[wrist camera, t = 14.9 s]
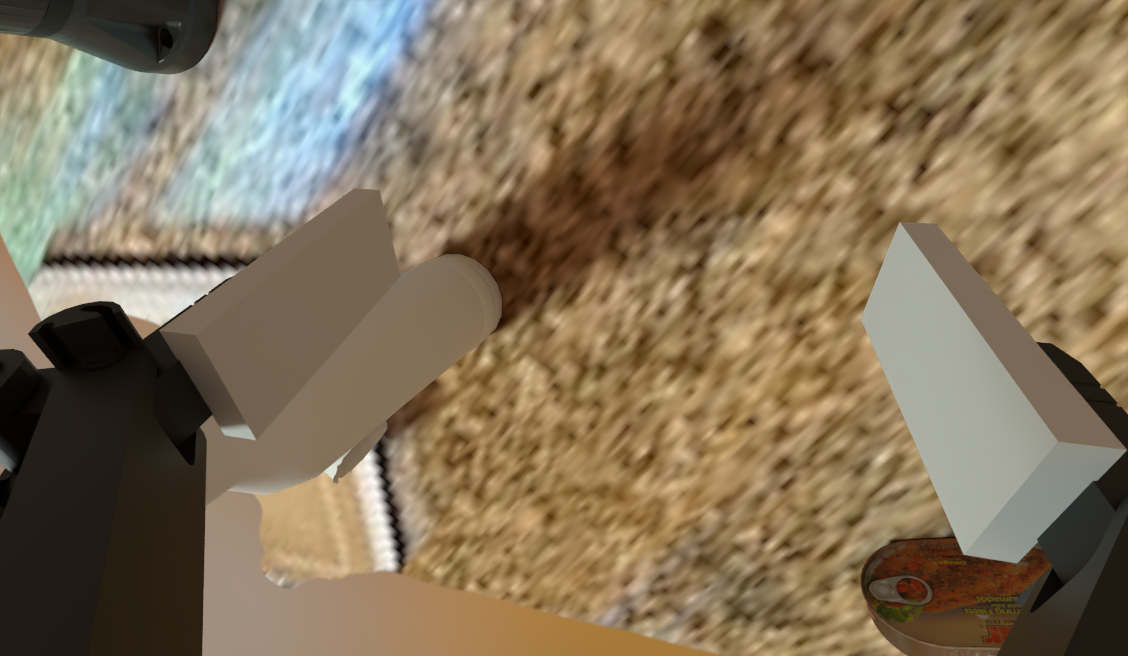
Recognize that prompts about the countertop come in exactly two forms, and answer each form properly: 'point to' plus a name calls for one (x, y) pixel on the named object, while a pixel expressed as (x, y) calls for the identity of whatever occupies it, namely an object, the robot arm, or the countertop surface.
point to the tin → (945, 596)
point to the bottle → (363, 378)
